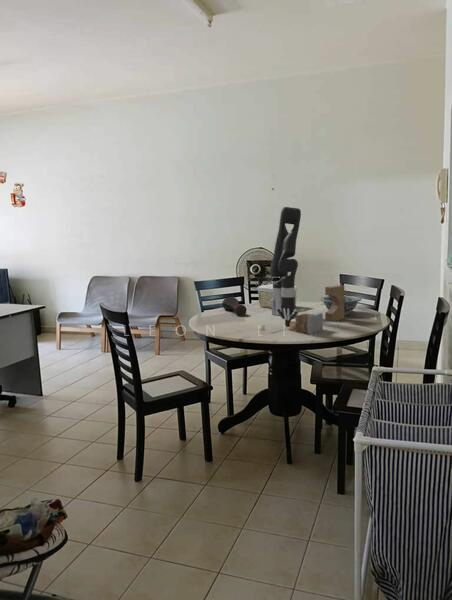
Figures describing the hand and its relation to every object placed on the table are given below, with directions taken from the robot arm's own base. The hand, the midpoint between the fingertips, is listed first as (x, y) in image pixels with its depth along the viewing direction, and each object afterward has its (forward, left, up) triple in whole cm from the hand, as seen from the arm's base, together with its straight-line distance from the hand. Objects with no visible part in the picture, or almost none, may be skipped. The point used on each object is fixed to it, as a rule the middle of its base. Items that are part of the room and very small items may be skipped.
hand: (288, 326), depth 264 cm
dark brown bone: (-55, +27, -2) cm, 61 cm away
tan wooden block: (+7, 0, -1) cm, 7 cm away
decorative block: (+12, +34, -1) cm, 36 cm away
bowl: (+7, +54, -1) cm, 55 cm away
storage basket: (-41, +58, -1) cm, 71 cm away
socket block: (+11, 0, -1) cm, 11 cm away
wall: (+16, 0, -1) cm, 16 cm away
